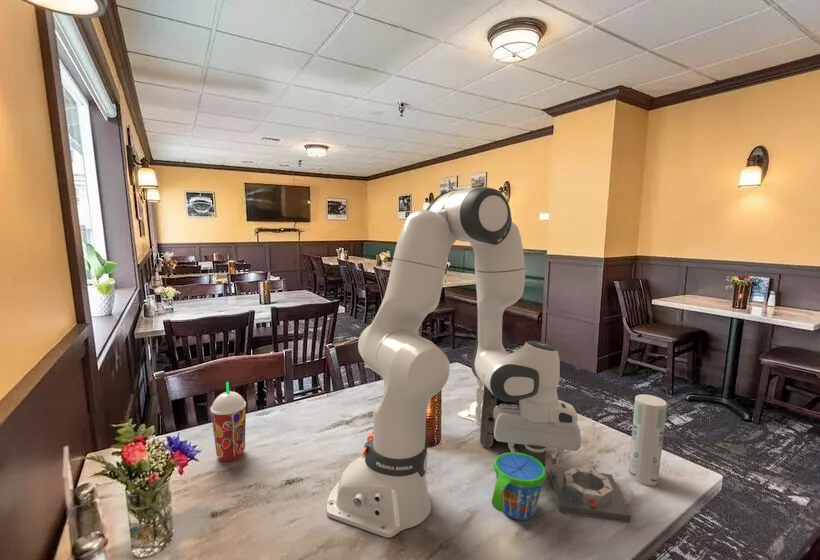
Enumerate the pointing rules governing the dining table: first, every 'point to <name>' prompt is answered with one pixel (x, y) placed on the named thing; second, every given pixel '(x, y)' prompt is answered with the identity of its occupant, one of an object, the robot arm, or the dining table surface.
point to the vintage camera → (490, 416)
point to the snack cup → (517, 484)
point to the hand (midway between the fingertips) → (534, 460)
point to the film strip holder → (474, 406)
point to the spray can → (647, 438)
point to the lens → (536, 452)
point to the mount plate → (588, 493)
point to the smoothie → (229, 424)
